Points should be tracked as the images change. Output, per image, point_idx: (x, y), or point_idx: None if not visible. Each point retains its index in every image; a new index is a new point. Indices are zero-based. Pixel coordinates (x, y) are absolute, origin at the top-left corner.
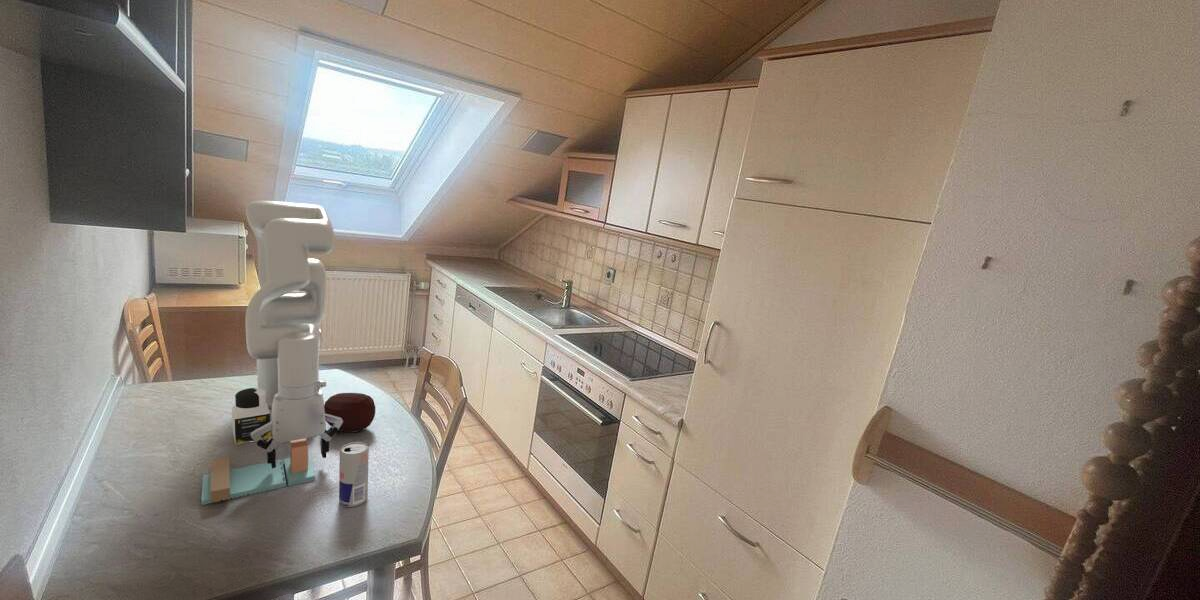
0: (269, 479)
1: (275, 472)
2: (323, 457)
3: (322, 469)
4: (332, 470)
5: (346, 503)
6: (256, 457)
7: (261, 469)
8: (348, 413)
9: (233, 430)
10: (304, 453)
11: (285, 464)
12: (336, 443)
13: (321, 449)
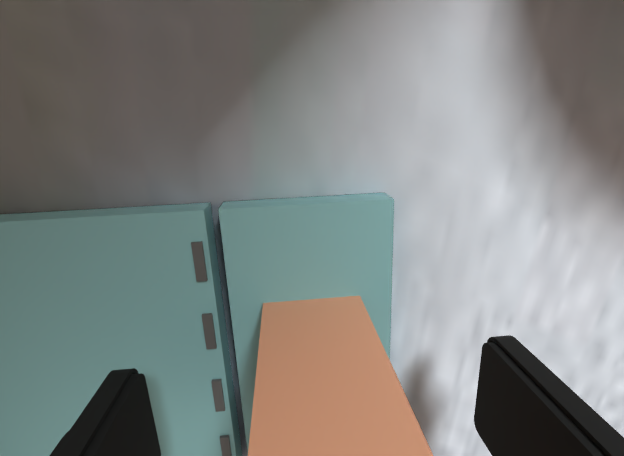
0: None
1: (174, 369)
2: (480, 428)
3: (432, 354)
4: (475, 380)
5: None
6: (4, 9)
7: (77, 302)
8: None
9: None
10: None
11: (231, 288)
12: (608, 16)
13: (506, 402)
